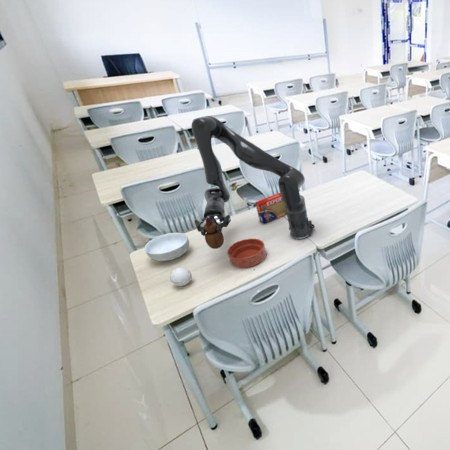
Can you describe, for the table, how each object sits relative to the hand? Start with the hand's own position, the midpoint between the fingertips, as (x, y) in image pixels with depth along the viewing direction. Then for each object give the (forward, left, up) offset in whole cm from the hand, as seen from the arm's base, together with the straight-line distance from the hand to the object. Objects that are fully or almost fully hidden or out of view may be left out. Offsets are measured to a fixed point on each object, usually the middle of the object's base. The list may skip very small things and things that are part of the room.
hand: (211, 232), depth 139 cm
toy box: (-24, -40, -20) cm, 51 cm away
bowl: (-10, -6, -20) cm, 23 cm away
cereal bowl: (+23, -20, -20) cm, 36 cm away
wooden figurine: (0, -3, -9) cm, 9 cm away
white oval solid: (+16, +4, -20) cm, 26 cm away
